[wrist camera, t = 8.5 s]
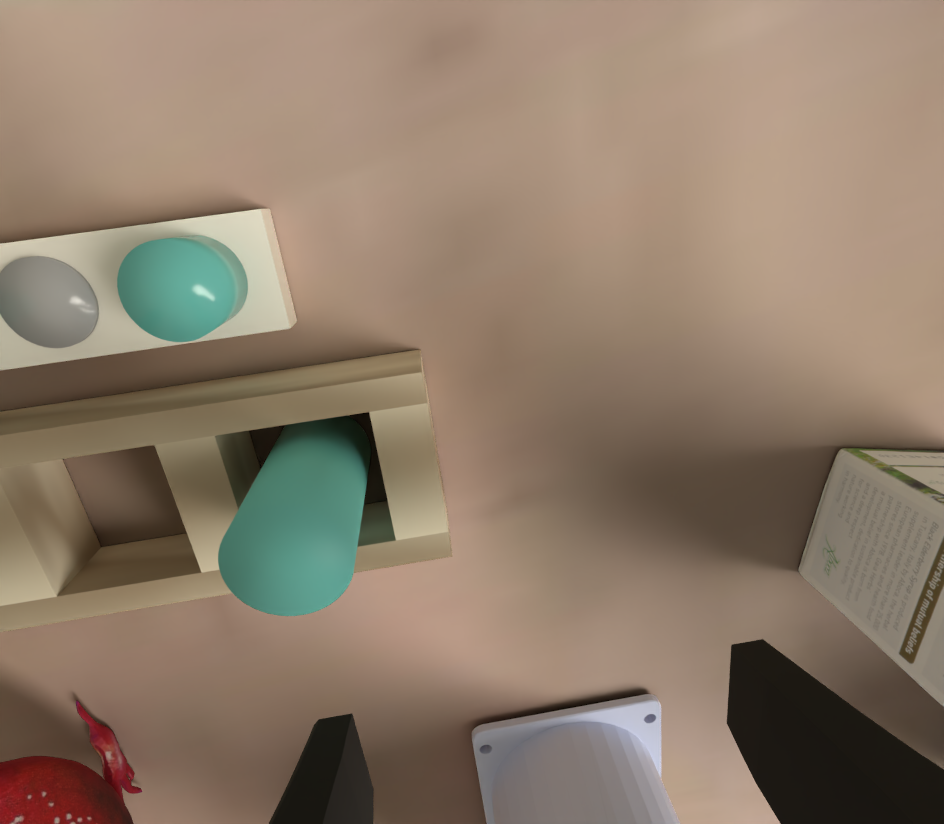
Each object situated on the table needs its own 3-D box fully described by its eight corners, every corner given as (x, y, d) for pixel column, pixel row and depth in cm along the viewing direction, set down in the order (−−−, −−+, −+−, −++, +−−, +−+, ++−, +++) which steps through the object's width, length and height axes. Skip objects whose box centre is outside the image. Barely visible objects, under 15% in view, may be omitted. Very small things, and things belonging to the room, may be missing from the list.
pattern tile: (297, 321, 17) (273, 345, 14) (-120, 381, 16) (-233, 419, 13) (269, 208, 15) (238, 209, 13) (-181, 268, 15) (-319, 284, 12)
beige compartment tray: (447, 514, 19) (462, 639, 14) (-115, 606, 18) (-344, 781, 13) (420, 349, 17) (424, 419, 12) (-219, 444, 16) (-548, 569, 11)
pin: (378, 483, 19) (366, 603, 13) (290, 498, 19) (240, 626, 13) (360, 401, 18) (339, 494, 12) (266, 417, 18) (200, 517, 12)
